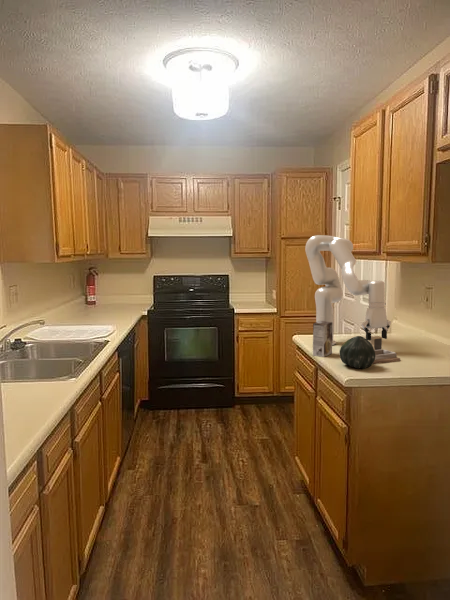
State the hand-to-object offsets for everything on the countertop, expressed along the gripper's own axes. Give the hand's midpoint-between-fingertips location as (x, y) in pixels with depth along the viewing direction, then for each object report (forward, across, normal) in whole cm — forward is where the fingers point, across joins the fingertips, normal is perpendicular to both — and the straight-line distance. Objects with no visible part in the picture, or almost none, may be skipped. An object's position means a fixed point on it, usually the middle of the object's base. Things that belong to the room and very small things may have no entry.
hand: (376, 339), depth 214 cm
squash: (+7, +26, +18) cm, 33 cm away
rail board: (+7, +9, +11) cm, 16 cm away
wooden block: (+7, 0, -1) cm, 7 cm away
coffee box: (+6, +27, -7) cm, 29 cm away
